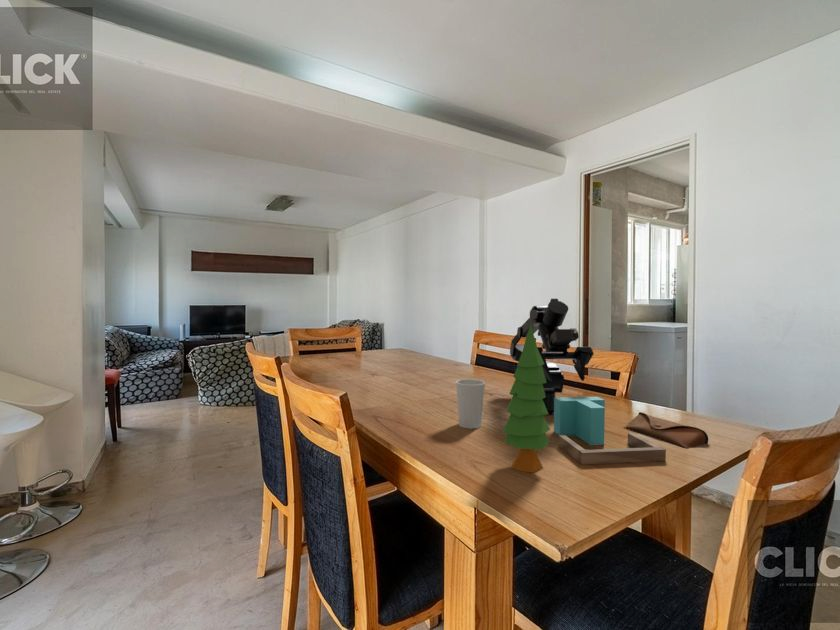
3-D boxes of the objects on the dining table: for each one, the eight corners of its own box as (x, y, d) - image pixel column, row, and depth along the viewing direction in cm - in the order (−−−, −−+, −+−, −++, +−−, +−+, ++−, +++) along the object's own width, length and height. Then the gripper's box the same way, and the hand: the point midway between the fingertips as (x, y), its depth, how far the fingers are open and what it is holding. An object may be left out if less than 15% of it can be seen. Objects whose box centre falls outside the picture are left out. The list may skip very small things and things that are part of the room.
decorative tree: (533, 480, 76) (535, 324, 75) (492, 465, 82) (493, 322, 81) (555, 464, 83) (557, 322, 82) (515, 452, 90) (517, 321, 88)
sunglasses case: (619, 427, 108) (627, 404, 109) (632, 436, 111) (641, 414, 112) (689, 449, 92) (698, 423, 93) (703, 459, 95) (711, 434, 96)
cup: (451, 426, 108) (451, 383, 108) (462, 418, 115) (462, 378, 115) (479, 431, 104) (479, 386, 104) (488, 423, 111) (488, 380, 111)
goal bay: (558, 445, 94) (558, 435, 94) (633, 443, 96) (633, 432, 96) (582, 464, 83) (582, 452, 83) (665, 460, 85) (665, 449, 85)
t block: (553, 431, 104) (554, 397, 104) (596, 429, 106) (597, 396, 105) (573, 445, 94) (574, 408, 94) (620, 444, 95) (621, 407, 95)
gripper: (527, 318, 113) (541, 362, 102) (590, 318, 114) (611, 361, 103) (518, 344, 121) (531, 386, 110) (577, 343, 122) (596, 386, 111)
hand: (567, 380), depth 108 cm, fingers open, 9 cm apart
